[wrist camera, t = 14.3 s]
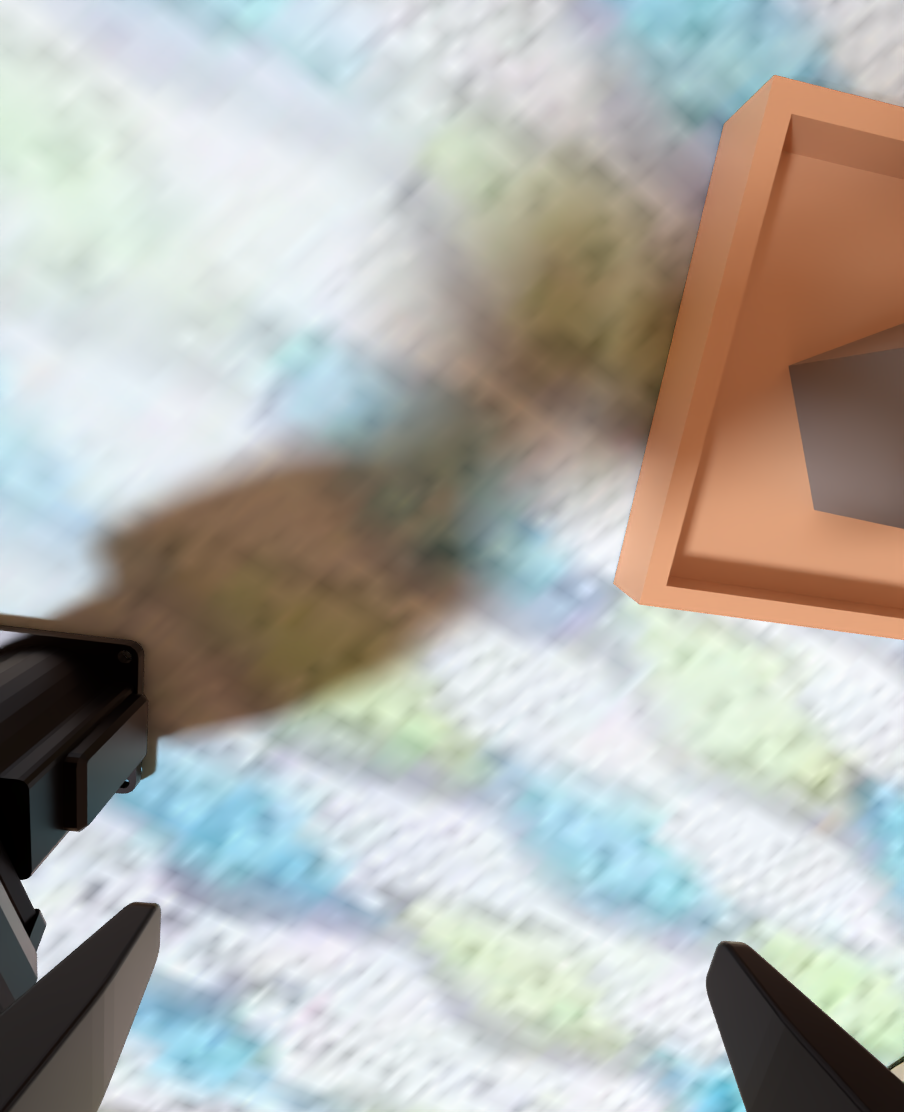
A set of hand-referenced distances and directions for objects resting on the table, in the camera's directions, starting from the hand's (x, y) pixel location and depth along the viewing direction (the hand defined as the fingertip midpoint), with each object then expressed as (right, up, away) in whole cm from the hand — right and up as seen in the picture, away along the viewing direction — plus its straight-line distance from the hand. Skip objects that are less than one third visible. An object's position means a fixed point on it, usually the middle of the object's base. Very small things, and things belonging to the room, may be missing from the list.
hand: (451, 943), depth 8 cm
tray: (+16, +12, +12) cm, 23 cm away
